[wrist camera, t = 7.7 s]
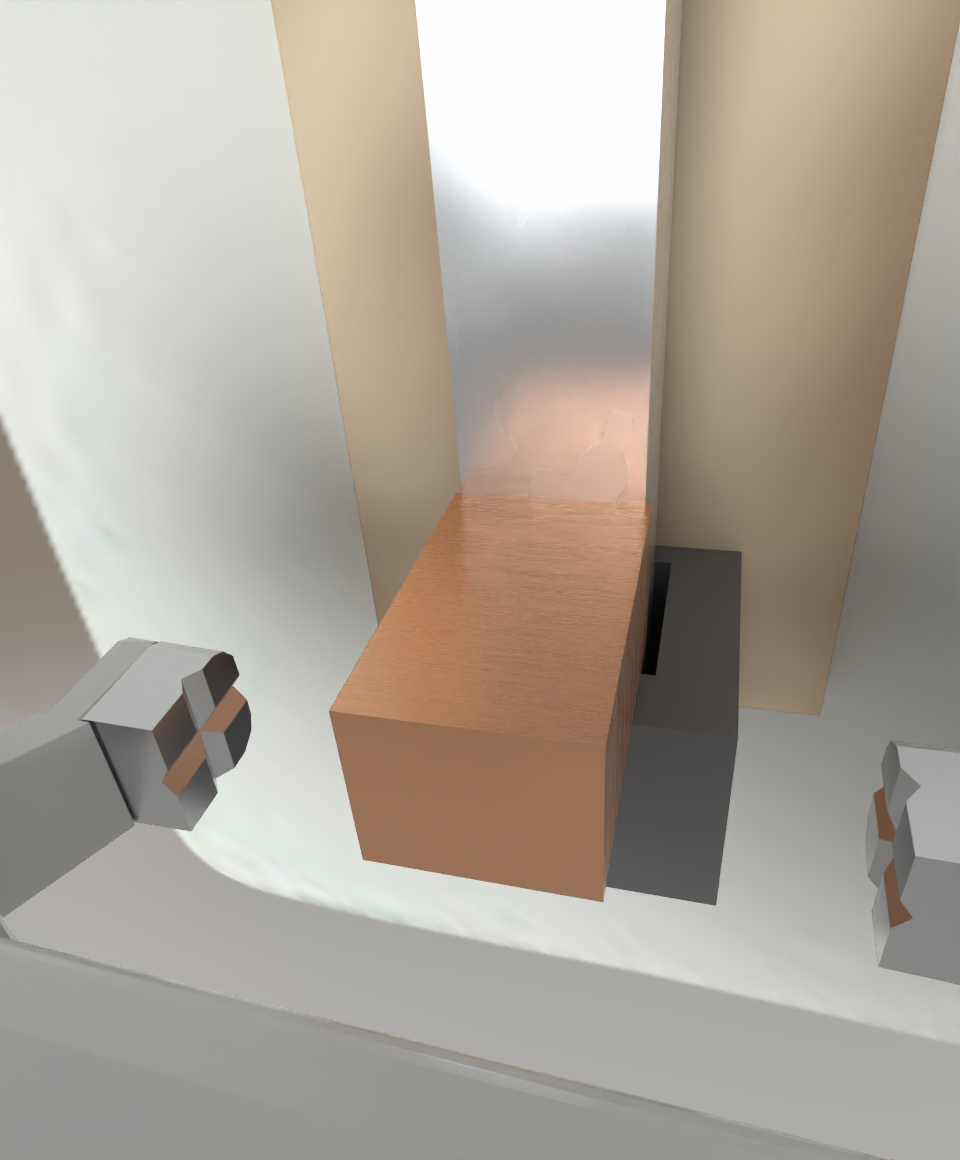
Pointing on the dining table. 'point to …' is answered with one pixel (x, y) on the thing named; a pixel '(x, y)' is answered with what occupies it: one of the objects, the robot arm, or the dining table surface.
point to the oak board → (695, 291)
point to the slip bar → (531, 450)
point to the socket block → (683, 731)
